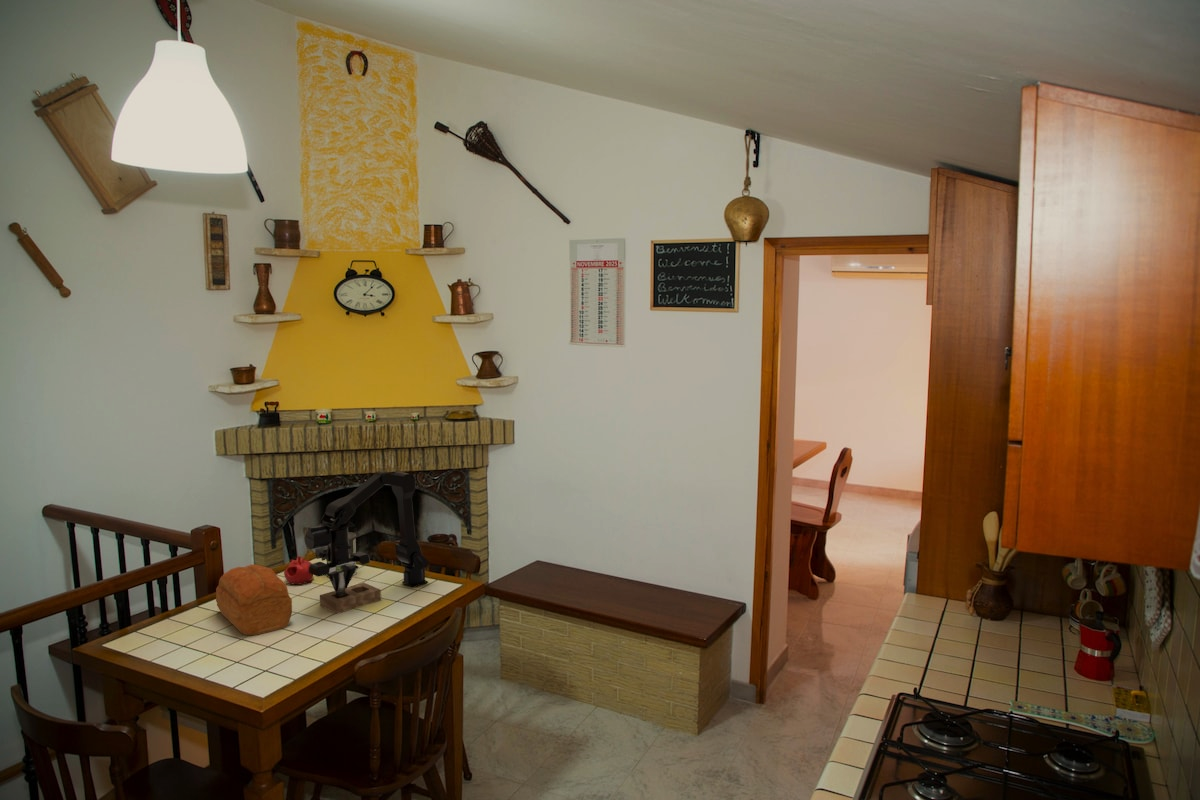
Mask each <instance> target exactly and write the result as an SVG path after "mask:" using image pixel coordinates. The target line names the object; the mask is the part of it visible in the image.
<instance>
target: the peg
mask: <svg viewBox="0 0 1200 800" xmlns="http://www.w3.org/2000/svg"><path fill="white" fill-rule="evenodd" d="M337 572H339V579H338V590H337V591H336V598H337V599H339V598H343V597H346V589H345V570H337Z"/></svg>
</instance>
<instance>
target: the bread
mask: <svg viewBox="0 0 1200 800" xmlns="http://www.w3.org/2000/svg"><path fill="white" fill-rule="evenodd" d="M215 590H216V591H215V602H216V606H217V608H218V610H219V612H220V613H221V615H222V616H224V618H226V619H227V620H228V622H230V623H231V624H232V625H233V626H234V627H235V629H237V630H238V632H240V633H241V634H243V635H246V636H256V635H260V634H264V633H265V634H266V633H269V632H274V631H276V630H280V629H284V628H286V627H287V626H289V624H290V620H291V617H292V613H293V605H292V604H293V601H292V600H293V599H292V598H291V596H290V594H289V589H288V586H287V584H286V583H285V582H284V580H282V579H281V578H280V577H279V576H278V575H277V574H276V573H275V571H274V570H273V569H272V568H270V567H267V566H263V565H260V564H249V565H246V566H236V567H233V568H231V569H229V570H227V571H226V572H224V573H223V574H222V575H221V576H220V578H219V579H218V585H217V587H216V589H215Z"/></svg>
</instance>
